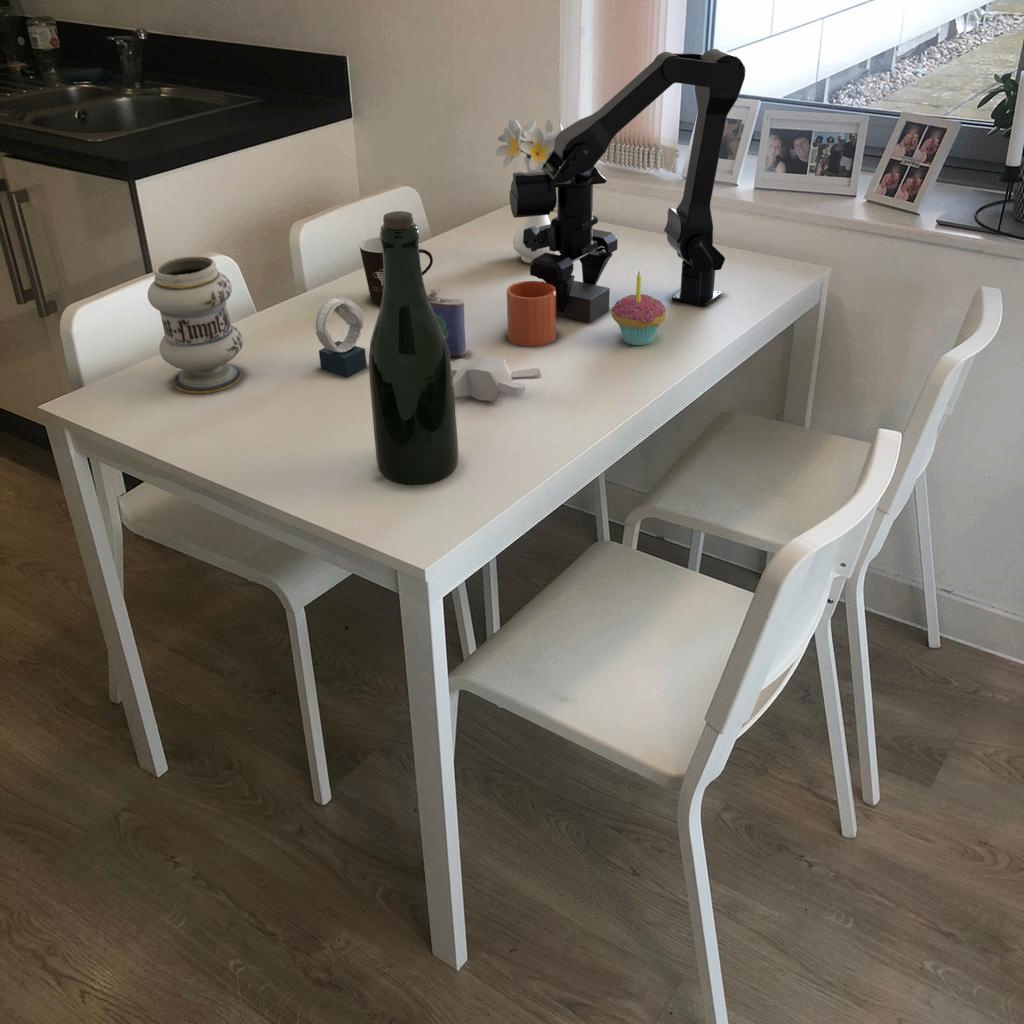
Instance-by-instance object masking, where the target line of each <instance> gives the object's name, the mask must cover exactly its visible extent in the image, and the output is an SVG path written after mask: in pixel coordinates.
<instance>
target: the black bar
mask: <svg viewBox="0 0 1024 1024" xmlns="http://www.w3.org/2000/svg"><path fill="white" fill-rule="evenodd" d="M610 290H611V289H610V287H608V286H607V287H606V286H602V285H597V284H596V285H593V284H588V283H584V282H583V281H578V280H574V281H573V284H572V287H571V291H570V294H569V298H568V301H567V305H566V308H565V310H564V312H558V311H557V308H556V316H558V317H562V318H567V319H571V320H576V321H580V322H585V323H588V324H590V323H592V322H594V321H595V320H596V319H598V318H600V317H602V316H603V315H604V314H606V313H608V312H609V311H610V293H611V292H610Z"/></svg>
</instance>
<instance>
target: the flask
mask: <svg viewBox="0 0 1024 1024" xmlns="http://www.w3.org/2000/svg"><path fill="white" fill-rule="evenodd" d="M441 291H442V290H441V288H440V287H439V286H436V287H435V288H434V287H432V288H430V289H428V292H429V294H427V297H428V300H429V302H430V304H431V307H432V309H433V311H434V313H435V315H436V317H437V319H438V321H439V324H440V326H441V328H442V330H443V332H444V335H445V337H446V341H447V344H448V348H449V352H450V359H464V357H466V355H467V343H466V342H467V341H466V327H465V324H466V323H465V302H464V301H463V300H462V299H458V298H447V297H445V298H444V297H440V292H441Z"/></svg>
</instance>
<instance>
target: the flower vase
mask: <svg viewBox="0 0 1024 1024" xmlns="http://www.w3.org/2000/svg"><path fill="white" fill-rule="evenodd" d="M544 124H545V125H544V126H545V127H544V128H545V129H544V132H543V131H542V129H541V128H540V127H536V125H537V121H536V120H534V119H533V120H530V121H527V122H526V124H524V125H523V127H521V124H520V123H519V122H518V120H516V119H514V118H511V119H510V120H509V121H508V127H504V129H503V134H501V135H499V136H498V137H497V141H498V142H501V143H505V144H502V145H499V146H498V147H497V148H496V150H495V156H497V157H505V158H504V159H503V162H502V169H503V170H506V169H507V168H508V167H509V165H510V164H511V162H512V161H513V160H514V159H515V158H518V157H519V156H520V154H521V153H522V154H525V156H524V158H523V161H524V163H525V165H526V170H527V173H532V172H543V171H542V170H541V168H542V166H543V165H544V163H545V162H546V160H547V159H548V157H549V156H550V154H551V153H552V151H553V150H554V144H555V139H556V137H557V136H558V134H559V133H560V132H561V131H563V130H564V129H563V126H562V123H561V122H560V123H559V131H557V132H555V133H554V125H553V123H552V121H551V120H550V119H546V121H545V123H544ZM548 224H551V220H550V218H549V215H540V216H529V217H525V219H524V221H523V223H522V224H521V226H520V227H518V229H517V230H516V231H515V234H514V235H513V238H512V246H513V249H514V250H515V252H516V253H518V254H519V255H520V258H521V261H522V262H524V263H526V264H529V265H530V262H531V261H532V260H533V259H534V258H536V257H538V256H540V255H542V254H544V253H551V254H557V253H559V251H550V250H549V247H546V248H541V249H537V250H536V251H533V252H531V249H530V248H529V249H528V248H526V247H525V245H524V244H523V234H524V229H527V228H529V227H533V226H537V227H540V226H544V225H548Z"/></svg>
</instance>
